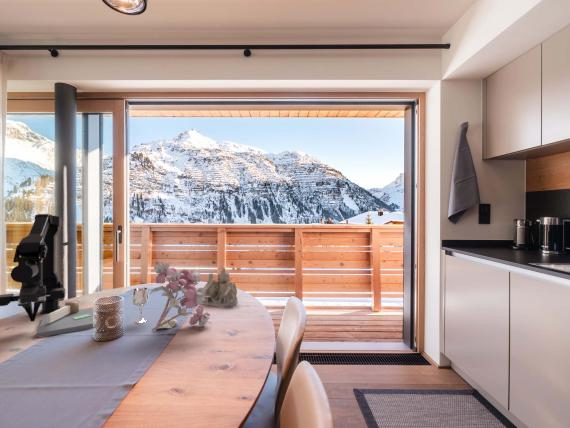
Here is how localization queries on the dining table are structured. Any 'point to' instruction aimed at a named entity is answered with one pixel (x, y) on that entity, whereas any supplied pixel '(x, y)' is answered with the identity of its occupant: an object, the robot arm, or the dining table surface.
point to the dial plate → (67, 323)
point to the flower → (188, 301)
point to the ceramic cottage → (220, 291)
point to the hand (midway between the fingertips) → (32, 321)
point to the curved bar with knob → (63, 311)
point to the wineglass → (140, 301)
